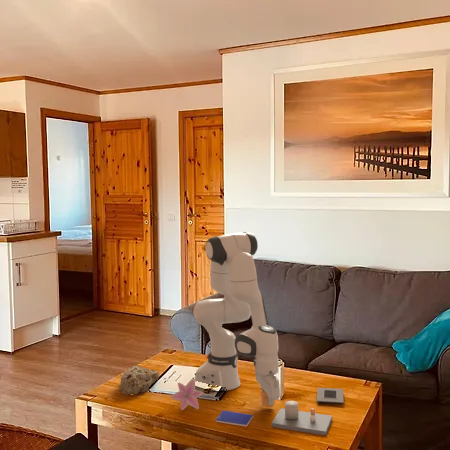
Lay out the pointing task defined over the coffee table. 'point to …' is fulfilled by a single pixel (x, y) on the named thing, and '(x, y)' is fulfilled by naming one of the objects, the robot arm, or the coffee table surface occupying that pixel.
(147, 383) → the rock
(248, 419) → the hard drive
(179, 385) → the lily
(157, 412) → the coffee table surface
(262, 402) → the orange rounded cylinder
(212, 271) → the robot arm
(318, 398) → the electrical outlet
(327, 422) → the plate
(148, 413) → the coffee table surface
